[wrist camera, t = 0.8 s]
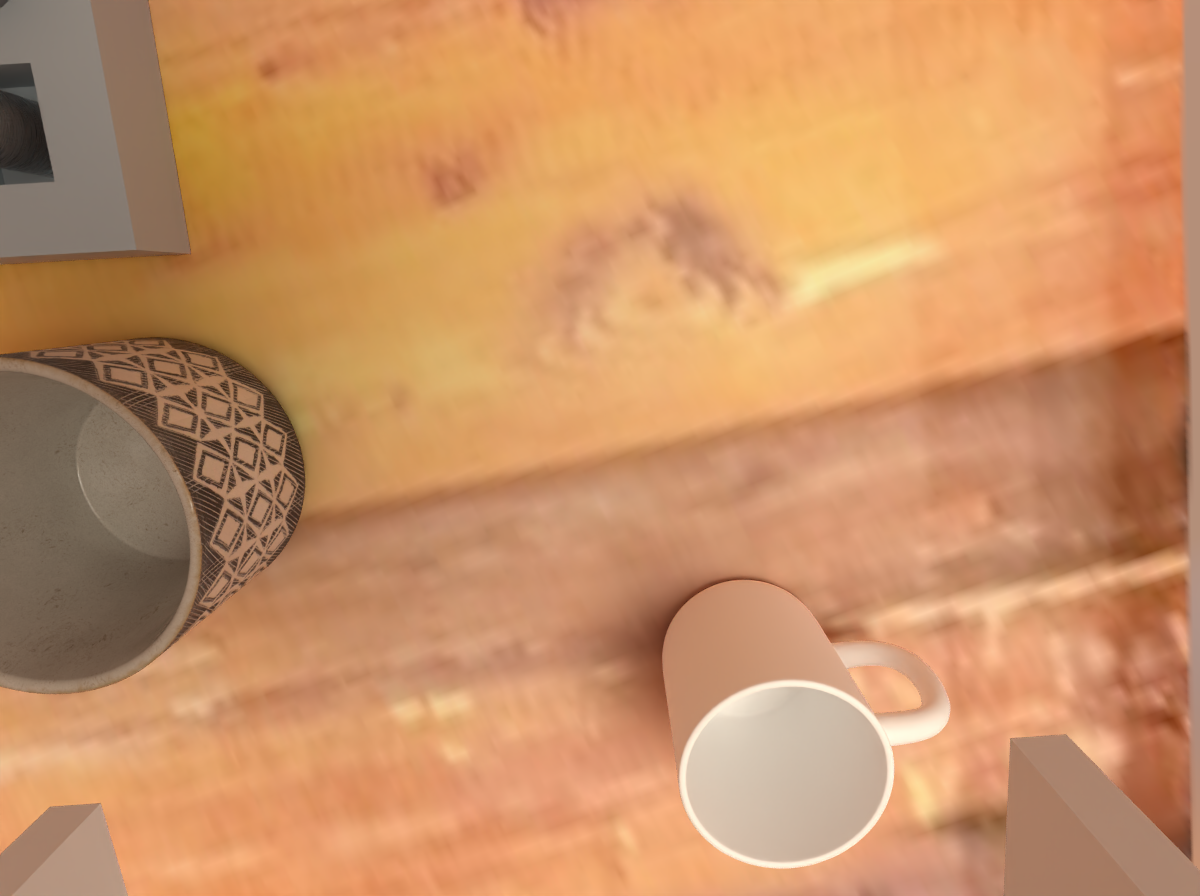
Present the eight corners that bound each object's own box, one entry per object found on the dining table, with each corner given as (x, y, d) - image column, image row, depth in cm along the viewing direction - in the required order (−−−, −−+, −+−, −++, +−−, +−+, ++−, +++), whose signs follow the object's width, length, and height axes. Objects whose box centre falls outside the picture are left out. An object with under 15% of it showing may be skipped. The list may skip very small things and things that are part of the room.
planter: (363, 439, 36) (266, 501, 26) (232, 629, 38) (96, 754, 28) (137, 281, 34) (-63, 279, 24) (15, 488, 37) (-214, 567, 26)
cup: (647, 589, 37) (661, 700, 27) (883, 548, 37) (984, 646, 27) (675, 732, 39) (697, 884, 29) (900, 694, 38) (1001, 837, 29)
